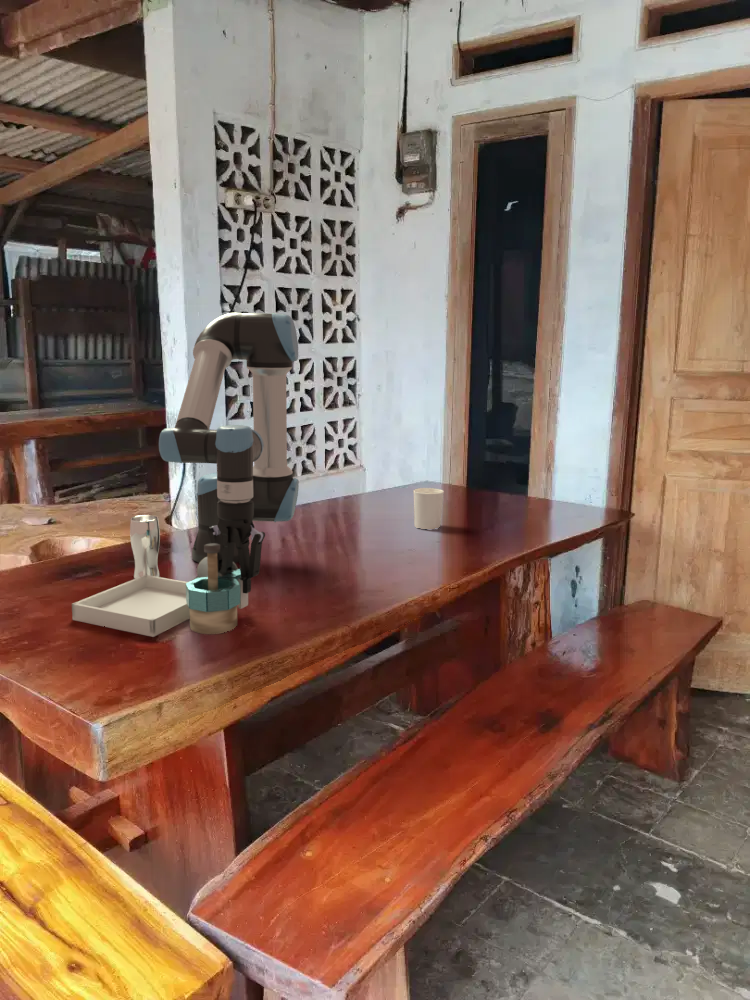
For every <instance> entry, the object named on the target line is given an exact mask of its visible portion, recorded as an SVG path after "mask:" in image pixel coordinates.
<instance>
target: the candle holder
mask: <svg viewBox="0 0 750 1000" xmlns="http://www.w3.org/2000/svg"><path fill="white" fill-rule="evenodd" d="M412 492H413V520H414V528H415V527H416V528H415V529H417V528H421V529H435V528H439V527H440V528H441V523H442V514H443V504H444V494H445V490H443V489H440V488H435V487H434V488H433V487H419V488H415V489H413V491H412ZM440 528H439V529H440ZM421 529H420V530H421Z"/></svg>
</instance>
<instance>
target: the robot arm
mask: <svg viewBox="0 0 750 1000" xmlns="http://www.w3.org/2000/svg"><path fill="white" fill-rule="evenodd" d="M192 356H193V358H194V361H193V364H192V368H191V371H190V374H189V379H188V381H187V385H186V389H185V392H184V396H183V398H182V402H181V403H180V404H181V405H180V409H179V412H178V415H177V419H176V421H175V424H174V427H169V428H167V427H166V428H163V429H162V430H161V432H160V433H159V438H158V451H159V454H160V457H161V459H162V461H165V462H169V463H178V464H186V463H187V464H216V472H211V473H208V474H204V475H202V476H201V477H199V478H198V480H197V490H196V496H197V497H196V499H197V524H198V526H197V529H198V530H197V533H196V537H195V540H194V543H193V547H192V548H191V549H192V550H191V556H192V560H193V561H194V562H197V563H198V564H199V563H200V561H201V560H202V559H204V558H205V557H207V553H205V552H204V545H206V544H211V543H215V544H220V552H218V553H217V563H218V572H219V573H221V575H222V576H225V575H227V574H229V573H231V572H234V570H232V566H233V562H234V563H235V564H237V563H239V569H240V571H241V577H240V578H239V579H238V582H239V584H240V604H239V605H237V609H240V610H242V609H244V608H245V607H247V606H249V593H250V592H251V591H252V578H254V577H256V576H258V575H259V574H260V571H261V570H260V567H261V559H262V558H261V557H262V547H263V541H264V539H265V537H266V533H265V532H264V531H259V530H258V529H256V528H255V524H254V522H274V523H277V522H290V520H292V519H293V517H294V516H295V515H294V514H295V512H296V506H297V500H298V496H299V483H300V481H299V479H298V478H295V477H294V474H293V470H292V469H291V468H290V467H289V466H288V455H287V454H288V450H287V449H288V448H287V446H288V444H287V443H288V440H287V439H288V438H287V437H288V436H287V435H288V433H287V432H288V431H287V430H288V429H287V428H288V427H287V424H288V423H287V419H288V417H287V415H288V414H287V410H288V409H287V374H288V373H290V371H291V370H292V369H293V362H294V363H295V362H297V360H298V359H299V341H298V334H297V329H296V325H295V322H294V320H293V317H292V316H290V315H289V314H282V313H275V312H273V313H264V312H263V313H261V312H259V313H258V312H256V313H255V312H254V313H253V312H243V313H242V312H230V313H229V312H228V313H226V314H222V315H221V316H219V317H217V318H215V319H214V320H212V321H211V322H210V323H209V324H208V325H206V326H205V327H204V329H203V330H202V331H201V332H200V334H199V335H198V337H196V341H195V343H194V347H193V349H192ZM233 360H239V361H240V360H242V361H244V360H245V361H246V368H247V370H249V371H250V372H251V374H252V397H253V398H252V404H253V406H252V410H253V412H252V413H253V414H252V416H253V428H251V427H250V426H248V425H244V424H243V425H242V424H241V425H239V424H232V425H231V424H229V425H222V426H219V427H218V428H217V429H210V427H211V425H212V421H213V418H214V412H215V409H216V404H217V401H218V398H219V393H220V390H221V385H222V382H223V378H224V375H225V370H226V369H227V368H228V367H229V366H230V365H231V363H232V361H233ZM250 540H251V544H250ZM249 547H250V548H249Z"/></svg>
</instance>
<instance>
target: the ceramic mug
mask: <svg viewBox="0 0 750 1000" xmlns="http://www.w3.org/2000/svg"><path fill="white" fill-rule="evenodd" d="M238 569H239V568H238V566H237V563H234V562H233V566H232V570H234V571H236V570H238ZM196 575H197V576H196V577H194V578H193V579H192V580H194V579H197V578H201V577H208V564H207V557H205V558H204V559H202V560H201V561H200V563H199V562H198V564H197V568H196ZM218 576H222V575H221V573H219V572H218Z"/></svg>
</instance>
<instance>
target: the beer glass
mask: <svg viewBox="0 0 750 1000" xmlns="http://www.w3.org/2000/svg"><path fill="white" fill-rule="evenodd" d="M160 531H161V530H160V523H159V517H158V516H157V515H149V514H142V515H141V514H140V515H135V516H132V517H130V525H129V536H130V539H129V540H130V544H131V550H132V554H133V558H134V573H133V579H136V578H138V577H141V576H143V575H150V576H156V577H160V571H159V567H158V557H159V550H160V540H161V532H160Z"/></svg>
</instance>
